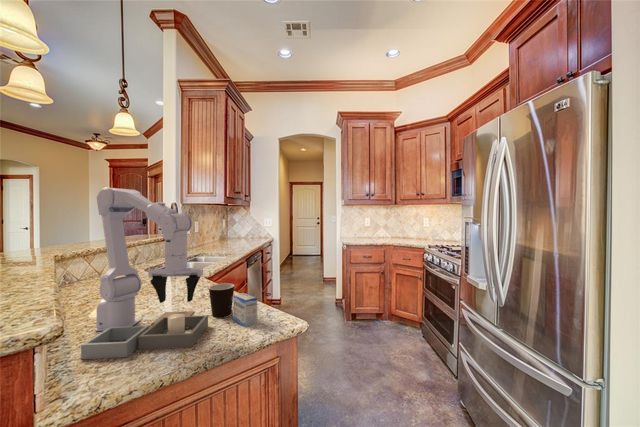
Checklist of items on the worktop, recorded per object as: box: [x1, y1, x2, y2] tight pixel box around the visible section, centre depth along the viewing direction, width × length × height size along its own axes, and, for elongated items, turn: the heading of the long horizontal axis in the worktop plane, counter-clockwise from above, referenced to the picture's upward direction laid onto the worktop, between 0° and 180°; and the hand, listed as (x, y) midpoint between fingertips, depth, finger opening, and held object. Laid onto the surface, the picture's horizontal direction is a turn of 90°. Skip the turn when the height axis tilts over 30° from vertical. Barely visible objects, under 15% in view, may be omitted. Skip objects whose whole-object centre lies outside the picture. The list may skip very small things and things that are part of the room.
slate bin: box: [80, 325, 150, 360], centre depth 73 cm, size 11×11×4 cm
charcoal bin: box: [137, 314, 209, 351], centre depth 79 cm, size 14×14×4 cm
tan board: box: [150, 310, 195, 326], centre depth 93 cm, size 10×10×1 cm
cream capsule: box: [167, 314, 186, 334], centre depth 79 cm, size 4×4×6 cm
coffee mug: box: [208, 282, 235, 319], centre depth 98 cm, size 12×9×10 cm
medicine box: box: [232, 292, 258, 328], centre depth 89 cm, size 8×4×9 cm, turn 47°
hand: (176, 301), depth 79 cm, fingers open, 7 cm apart
